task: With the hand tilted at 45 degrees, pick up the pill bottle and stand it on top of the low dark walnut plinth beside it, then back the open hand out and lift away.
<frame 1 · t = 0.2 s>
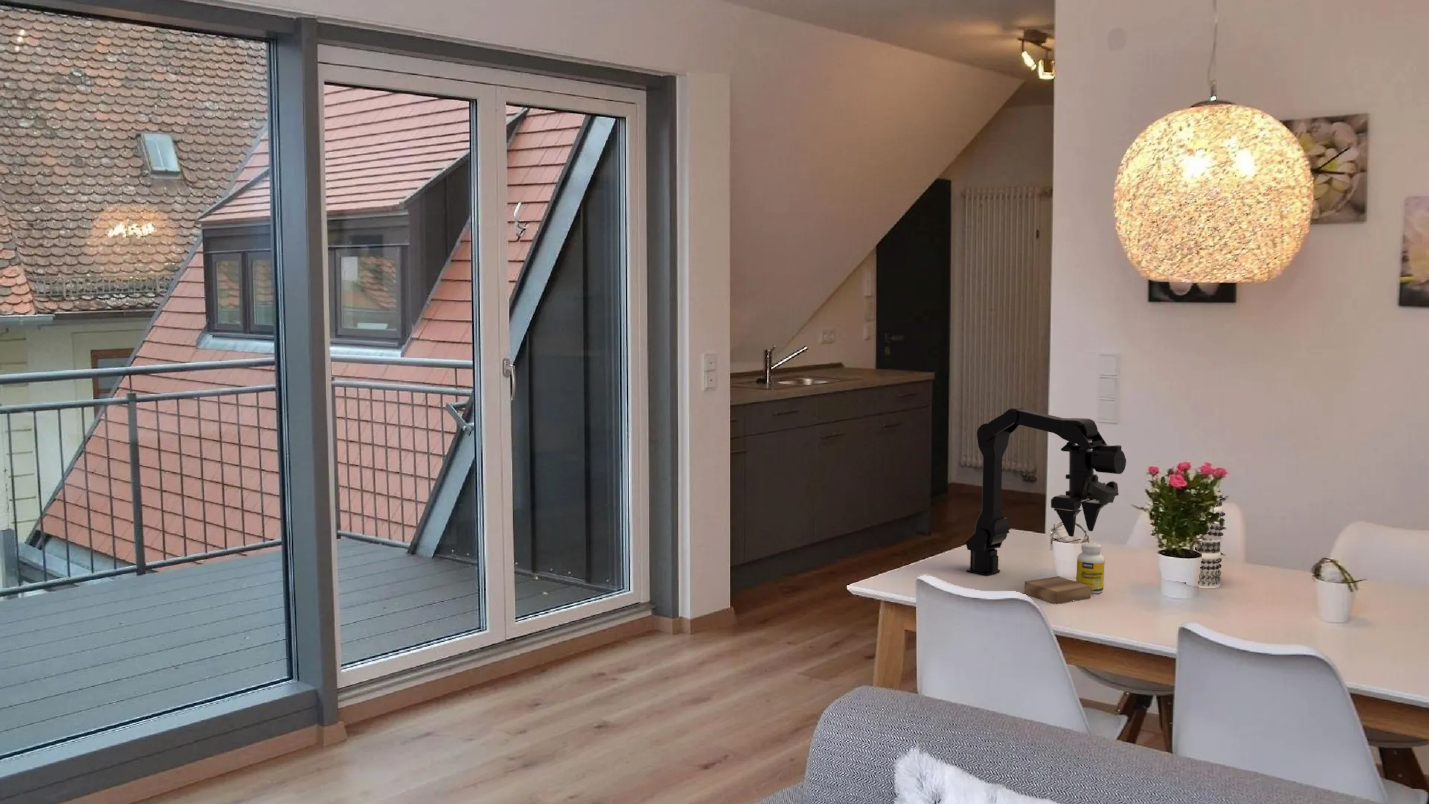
hand: (1081, 533, 294), 15 cm above the table, tool pointing down, fingers open, 9 cm apart
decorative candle: (1202, 585, 304), on the table
walnut plinth: (1057, 595, 292), on the table
pill bottle: (1089, 591, 297), on the table
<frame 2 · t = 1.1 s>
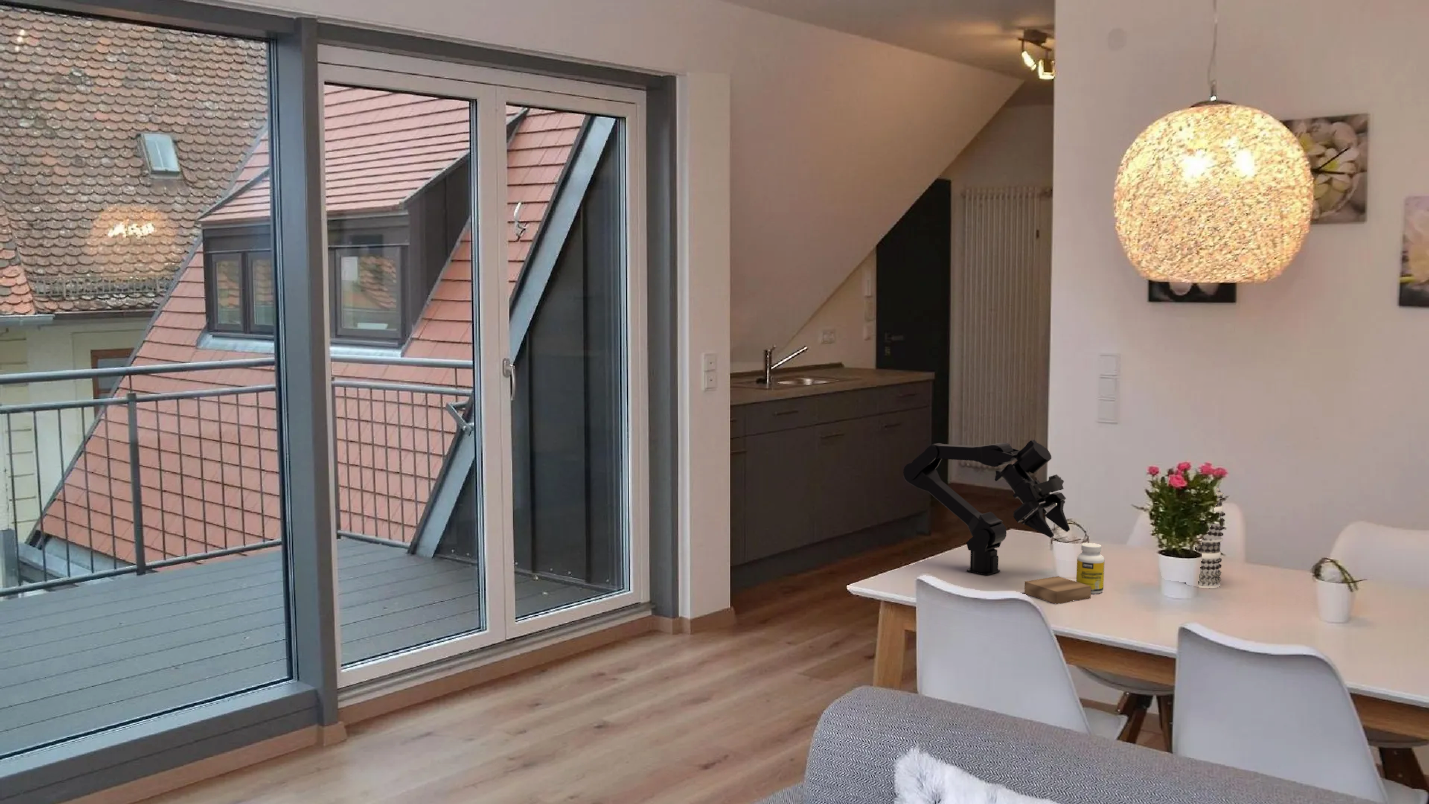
hand: (1060, 533, 301), 13 cm above the table, tool tilted 45°, fingers open, 9 cm apart
nothing on the table moved.
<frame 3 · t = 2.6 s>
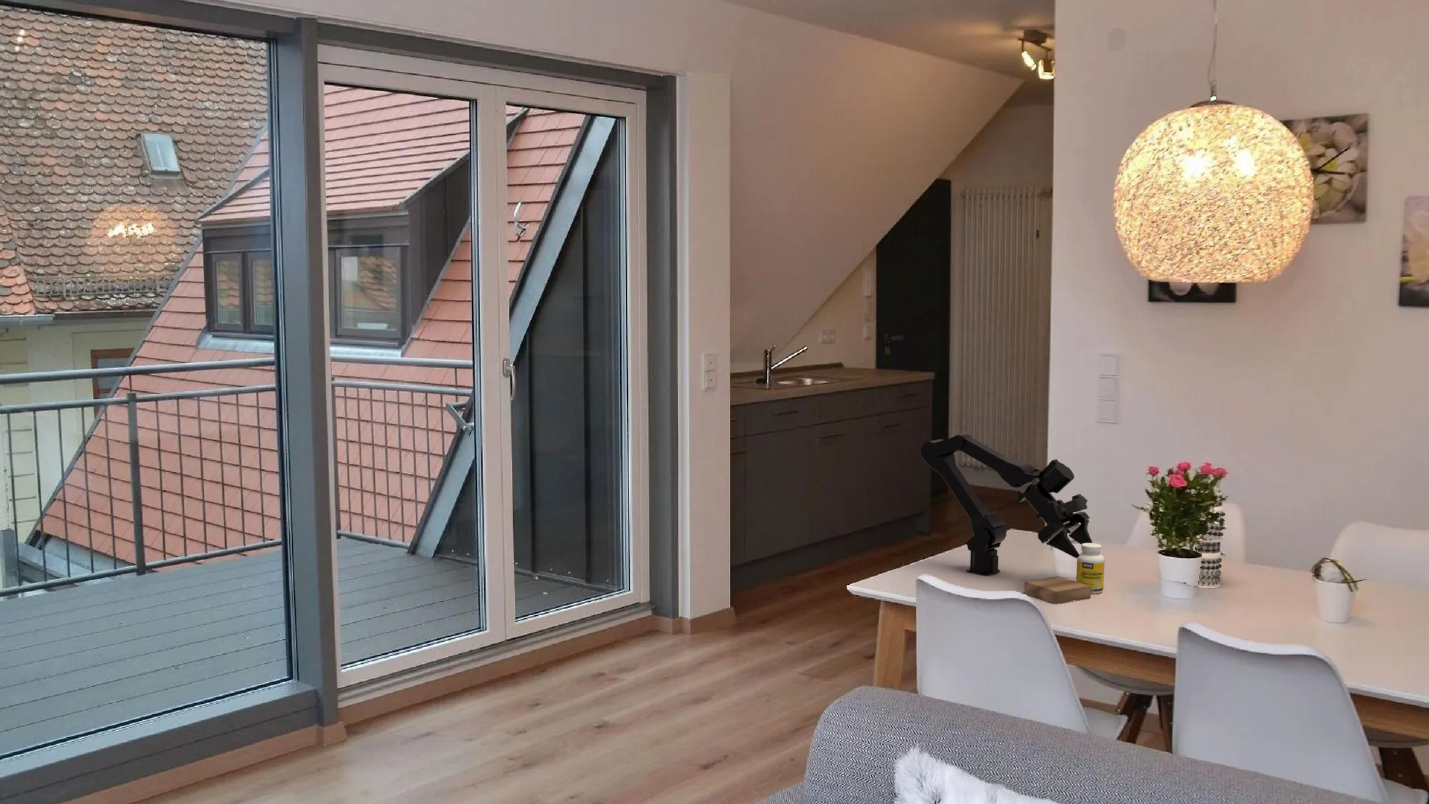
hand: (1086, 553, 297), 9 cm above the table, tool tilted 45°, fingers open, 9 cm apart
nothing on the table moved.
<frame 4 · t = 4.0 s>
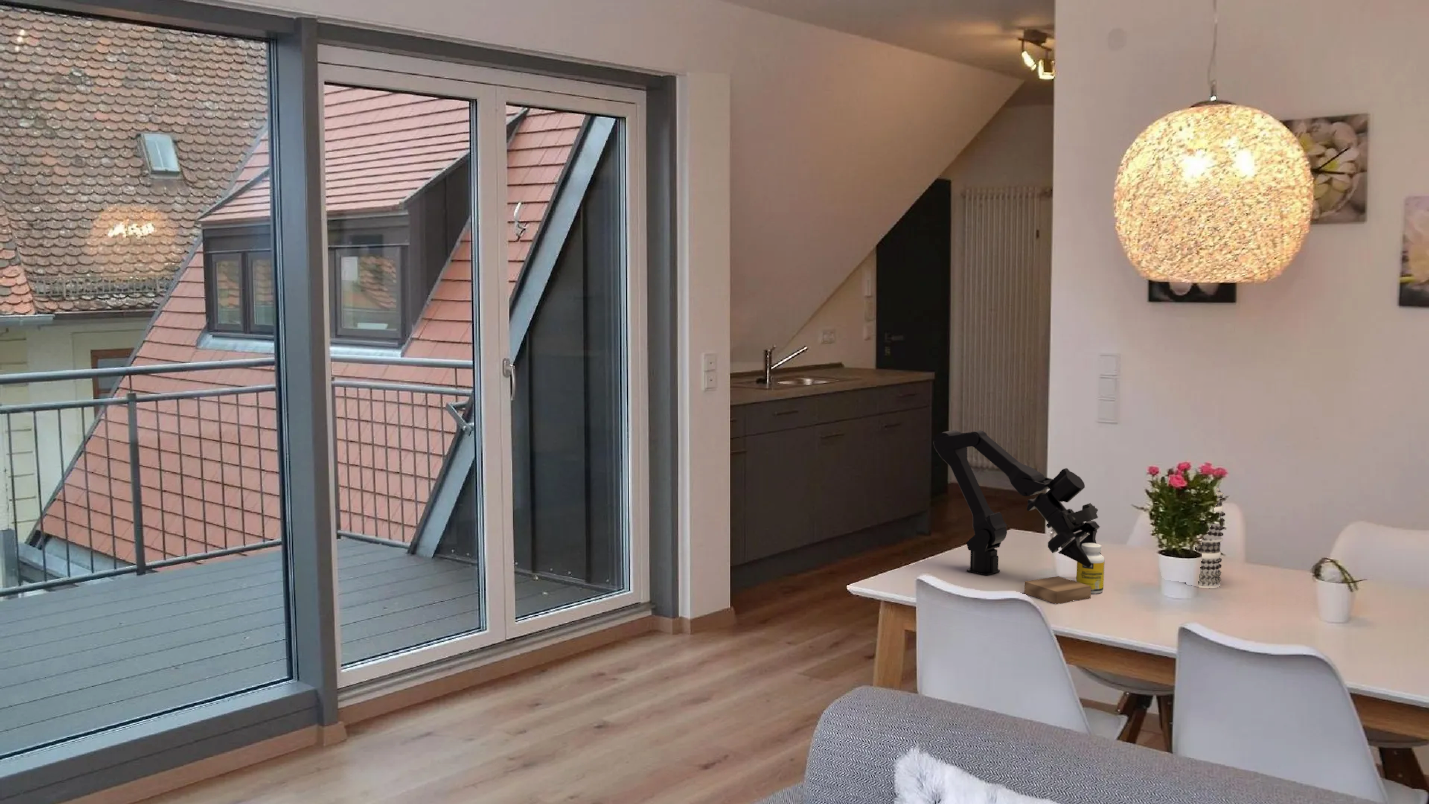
hand: (1096, 563, 295), 7 cm above the table, tool tilted 45°, fingers closed on pill bottle, 6 cm apart
pill bottle: (1089, 591, 297), on the table, touching gripper
everything else where it was.
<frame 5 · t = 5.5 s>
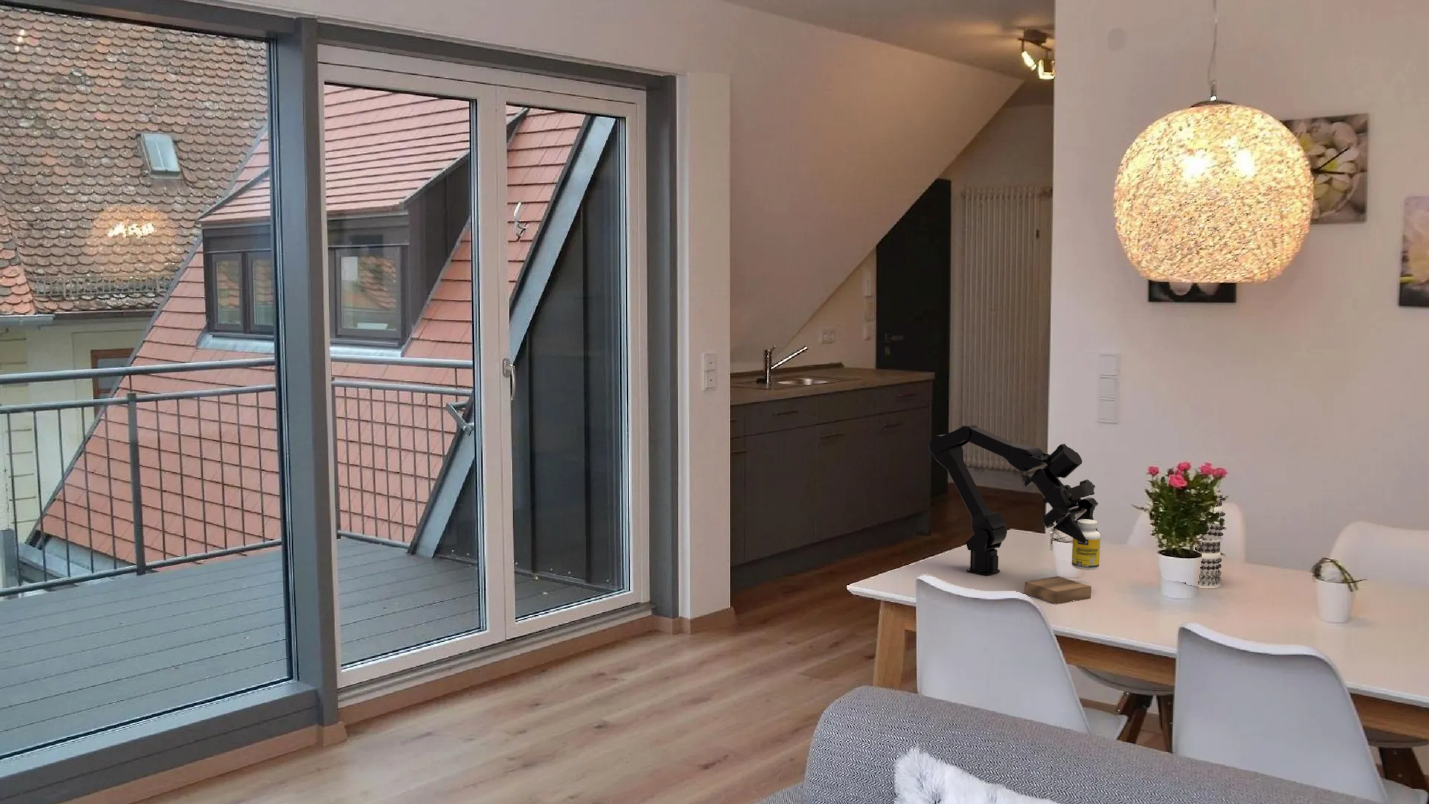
hand: (1091, 540, 294), 13 cm above the table, tool tilted 45°, fingers closed on pill bottle, 6 cm apart
pill bottle: (1085, 568, 296), point 6 cm above the table, touching gripper
everything else where it was.
when the fingers open (11 cm above the table, at t = 7.1 s): pill bottle drops 1 cm, resting on walnut plinth.
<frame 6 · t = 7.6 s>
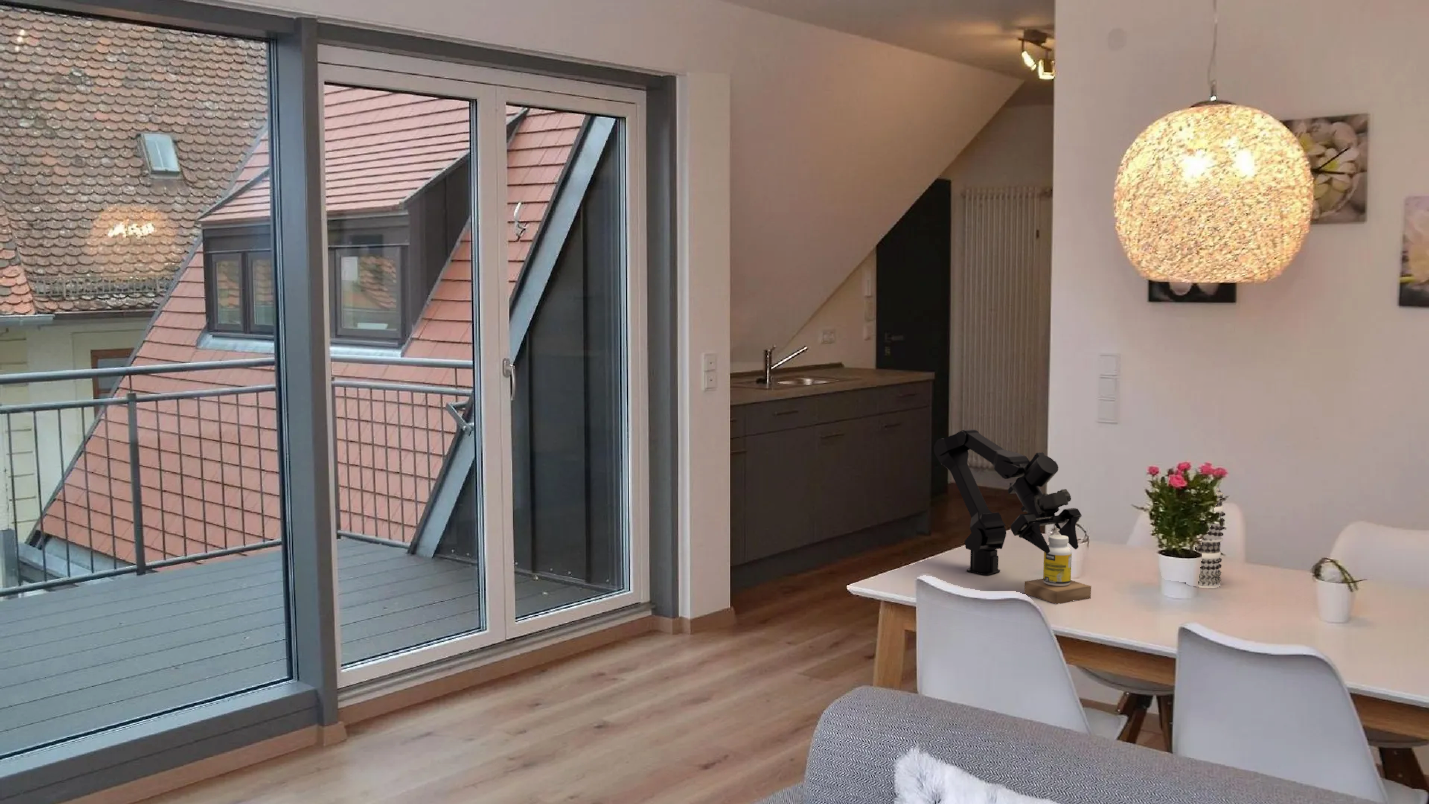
hand: (1062, 550, 290), 12 cm above the table, tool tilted 45°, fingers open, 9 cm apart
pill bottle: (1056, 584, 292), point 3 cm above the table, touching walnut plinth
everything else where it was.
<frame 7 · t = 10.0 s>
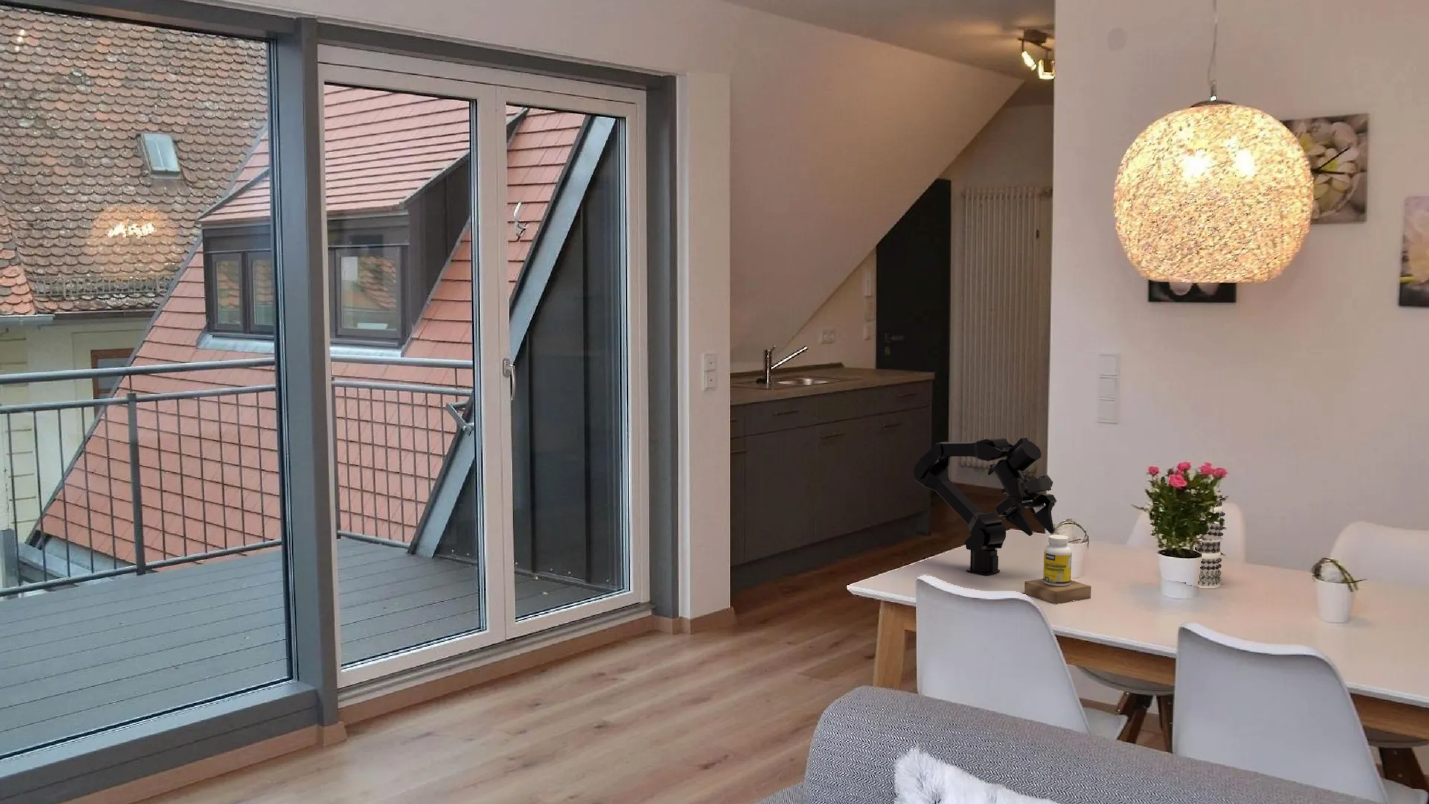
hand: (1042, 534, 299), 14 cm above the table, tool tilted 40°, fingers open, 9 cm apart
nothing on the table moved.
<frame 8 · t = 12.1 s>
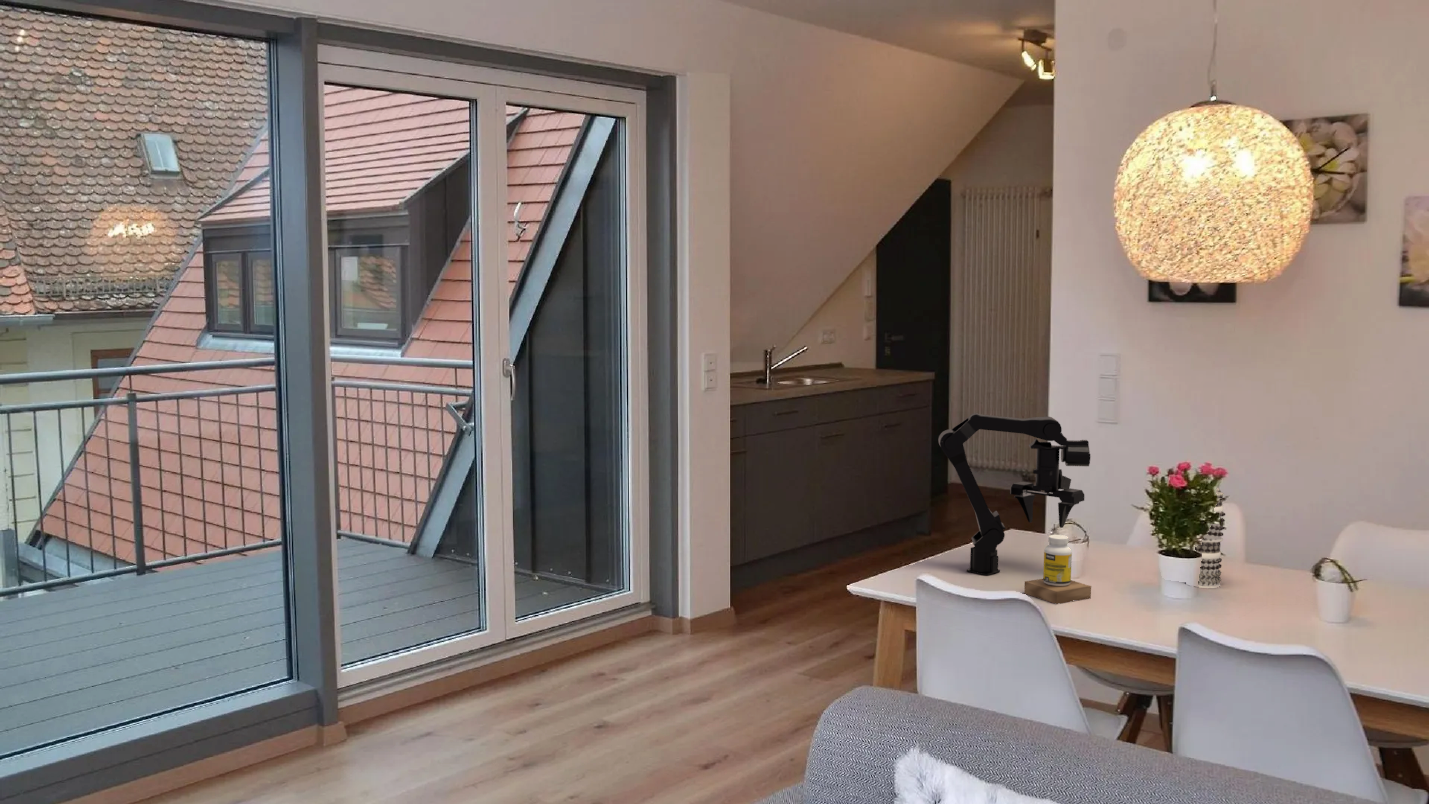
hand: (1045, 524, 313), 13 cm above the table, tool pointing down, fingers open, 9 cm apart
nothing on the table moved.
at the end: pill bottle inside the target area on the walnut plinth (0.2 cm from its centre), point 2.8 cm above the walnut plinth's base; pill bottle tilted 0°; the gripper is holding nothing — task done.
